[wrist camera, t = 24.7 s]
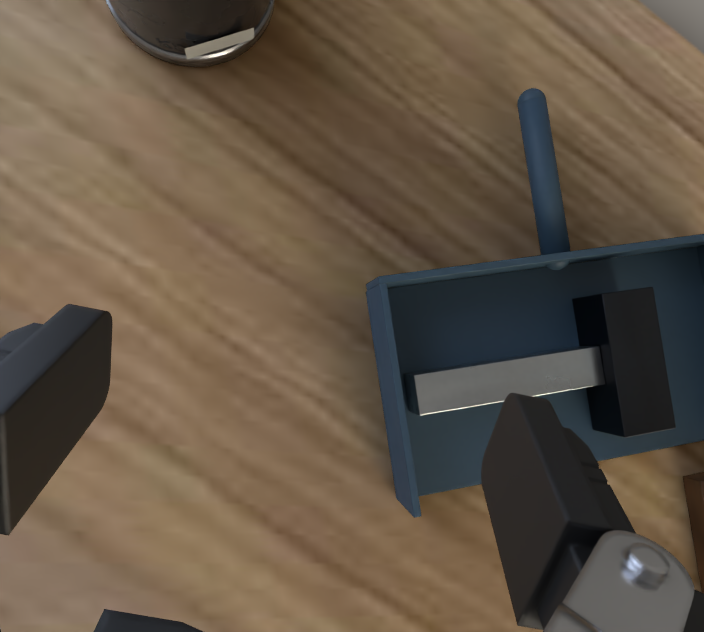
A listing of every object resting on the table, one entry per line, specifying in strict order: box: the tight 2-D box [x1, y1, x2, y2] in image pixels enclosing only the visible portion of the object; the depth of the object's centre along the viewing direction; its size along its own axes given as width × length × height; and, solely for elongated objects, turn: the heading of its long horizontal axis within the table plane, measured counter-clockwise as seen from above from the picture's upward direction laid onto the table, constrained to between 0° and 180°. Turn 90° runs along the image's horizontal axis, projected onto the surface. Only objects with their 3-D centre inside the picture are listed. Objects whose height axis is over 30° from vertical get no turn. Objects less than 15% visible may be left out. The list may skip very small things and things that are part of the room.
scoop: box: [366, 88, 704, 517], centre depth 34 cm, size 22×22×4 cm
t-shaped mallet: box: [404, 287, 676, 438], centre depth 33 cm, size 14×8×3 cm, turn 98°
